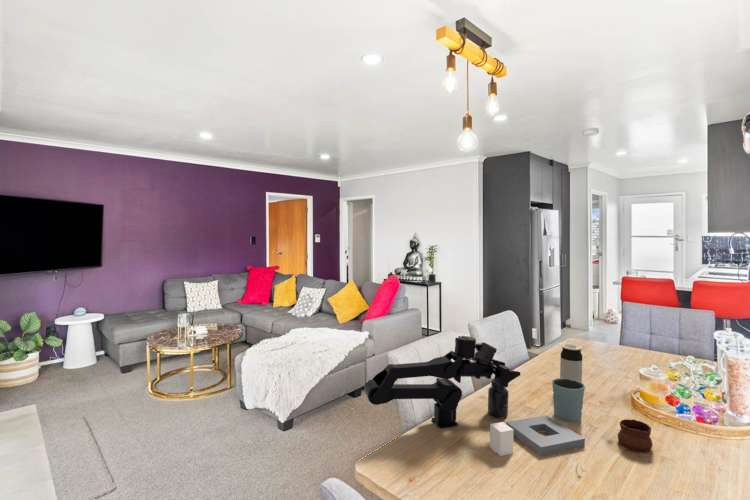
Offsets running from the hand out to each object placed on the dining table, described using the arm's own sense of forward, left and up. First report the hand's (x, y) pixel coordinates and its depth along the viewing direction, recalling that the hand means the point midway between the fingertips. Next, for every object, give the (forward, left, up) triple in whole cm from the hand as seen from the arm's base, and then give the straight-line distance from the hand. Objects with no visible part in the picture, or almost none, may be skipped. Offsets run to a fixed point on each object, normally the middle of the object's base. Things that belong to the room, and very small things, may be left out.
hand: (512, 368), depth 138 cm
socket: (0, -16, -17) cm, 23 cm away
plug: (-17, -18, -17) cm, 30 cm away
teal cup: (+18, -7, -17) cm, 25 cm away
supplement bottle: (-4, +2, -17) cm, 17 cm away
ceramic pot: (+23, -28, -17) cm, 40 cm away
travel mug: (+38, +12, -17) cm, 43 cm away
